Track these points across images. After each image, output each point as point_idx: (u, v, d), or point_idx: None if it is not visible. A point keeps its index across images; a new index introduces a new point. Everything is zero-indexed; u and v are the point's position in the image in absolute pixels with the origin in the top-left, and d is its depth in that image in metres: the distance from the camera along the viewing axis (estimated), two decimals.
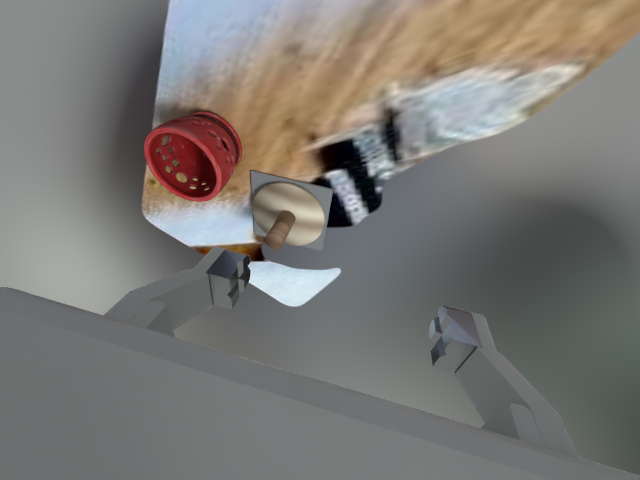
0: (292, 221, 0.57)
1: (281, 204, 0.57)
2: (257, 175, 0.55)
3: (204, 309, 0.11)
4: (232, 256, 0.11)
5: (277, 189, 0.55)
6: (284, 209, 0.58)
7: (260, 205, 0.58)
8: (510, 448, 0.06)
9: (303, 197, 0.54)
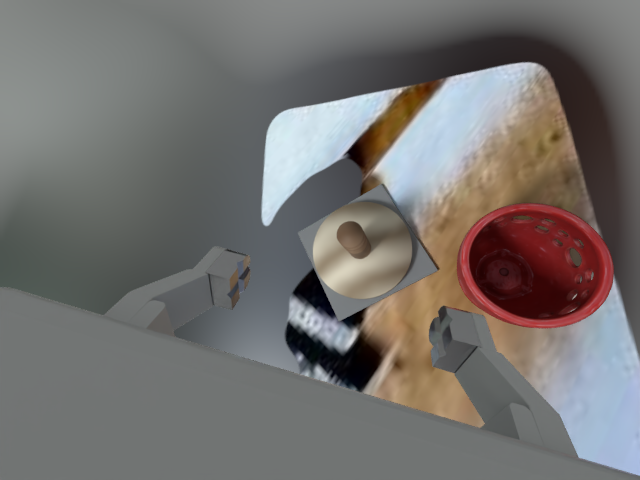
0: None
1: (377, 259, 0.43)
2: (426, 270, 0.41)
3: (204, 309, 0.11)
4: (232, 256, 0.11)
5: (393, 276, 0.41)
6: (369, 255, 0.43)
7: (398, 236, 0.43)
8: (510, 448, 0.06)
9: (360, 290, 0.42)
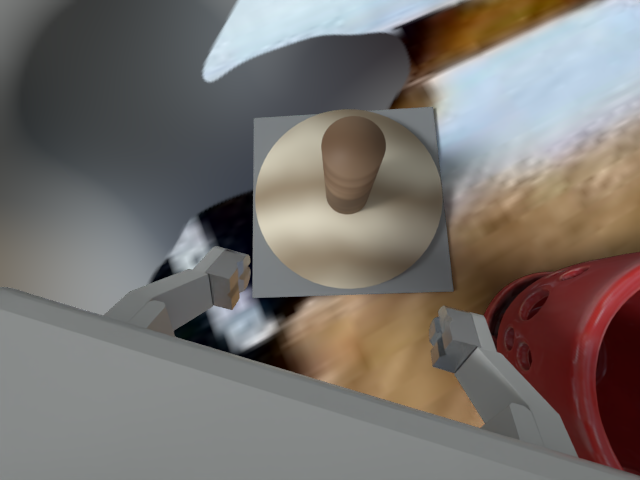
0: (327, 196, 0.22)
1: (366, 227, 0.23)
2: (435, 283, 0.23)
3: (204, 309, 0.11)
4: (232, 256, 0.11)
5: (380, 268, 0.22)
6: (357, 215, 0.23)
7: (421, 206, 0.23)
8: (510, 448, 0.06)
9: (313, 265, 0.23)
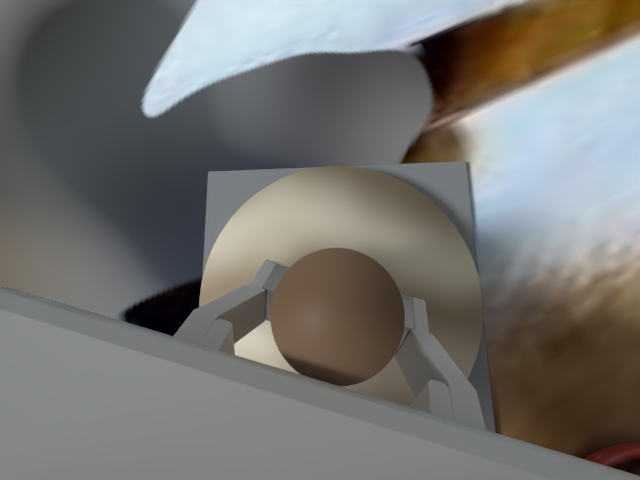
0: None
1: None
2: None
3: (257, 324, 0.11)
4: (285, 270, 0.11)
5: None
6: None
7: (449, 323, 0.15)
8: (510, 448, 0.06)
9: None
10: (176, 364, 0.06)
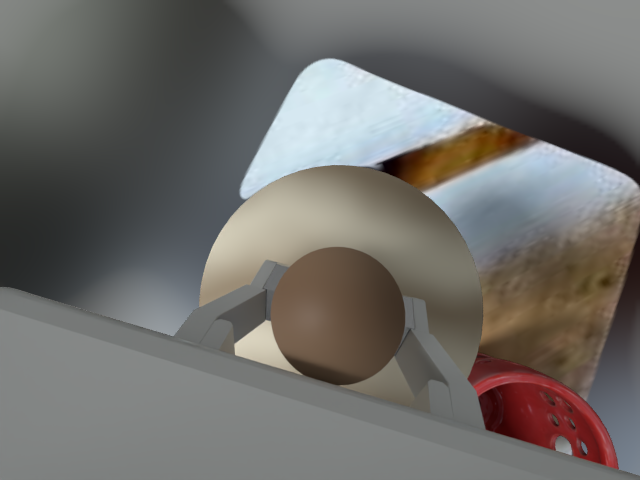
0: None
1: None
2: None
3: (258, 324, 0.11)
4: (285, 270, 0.11)
5: None
6: None
7: (449, 322, 0.15)
8: (510, 448, 0.06)
9: None
10: (176, 364, 0.06)
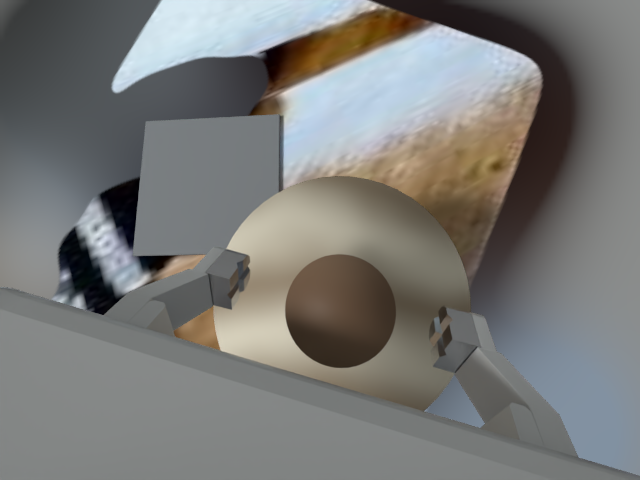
0: None
1: None
2: None
3: (204, 309, 0.11)
4: (232, 256, 0.11)
5: None
6: None
7: None
8: (510, 448, 0.06)
9: None
10: (176, 364, 0.06)
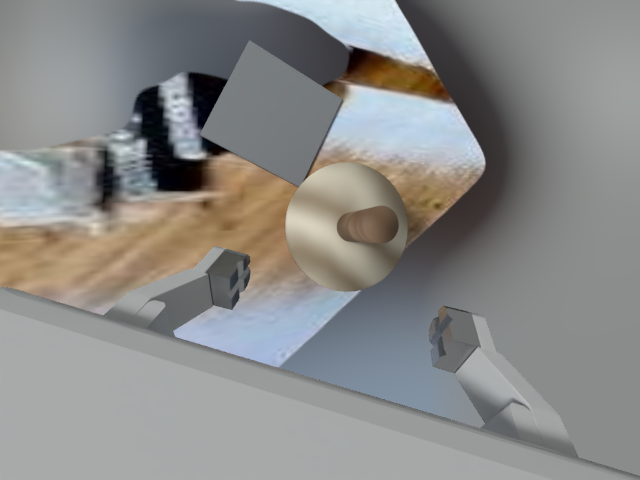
0: (341, 225, 0.32)
1: (350, 254, 0.34)
2: (294, 179, 0.45)
3: (204, 309, 0.11)
4: (232, 256, 0.11)
5: (344, 282, 0.34)
6: (349, 243, 0.34)
7: (386, 258, 0.35)
8: (510, 448, 0.06)
9: (307, 260, 0.33)
10: (176, 364, 0.06)
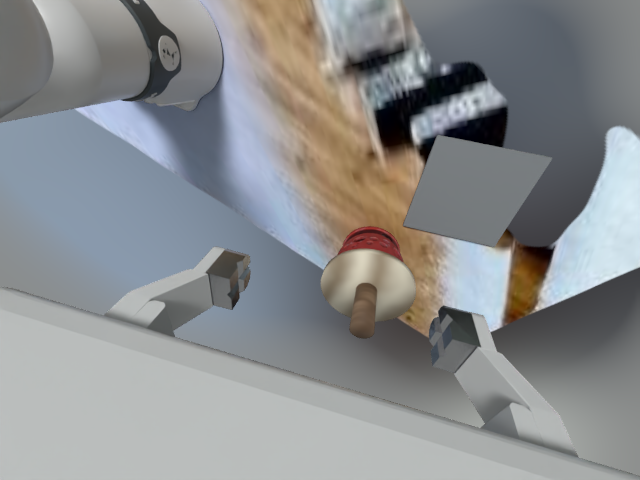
0: (364, 290, 0.44)
1: (347, 291, 0.48)
2: (409, 220, 0.52)
3: (204, 309, 0.11)
4: (232, 256, 0.11)
5: (327, 289, 0.49)
6: (354, 290, 0.47)
7: (350, 310, 0.51)
8: (510, 448, 0.06)
9: (335, 268, 0.45)
10: (176, 364, 0.06)
